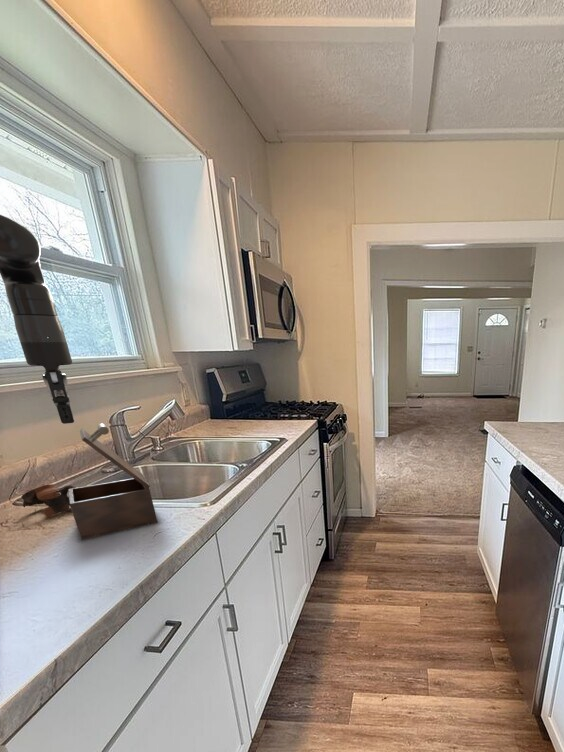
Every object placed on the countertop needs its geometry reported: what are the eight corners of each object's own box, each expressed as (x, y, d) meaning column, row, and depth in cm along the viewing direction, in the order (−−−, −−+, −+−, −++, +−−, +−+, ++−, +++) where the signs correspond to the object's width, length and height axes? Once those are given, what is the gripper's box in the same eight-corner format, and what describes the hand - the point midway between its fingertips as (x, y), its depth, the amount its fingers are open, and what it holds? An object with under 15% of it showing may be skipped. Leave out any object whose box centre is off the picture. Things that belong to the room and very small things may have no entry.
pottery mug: (34, 523, 101) (12, 495, 99) (41, 527, 109) (21, 501, 107) (85, 500, 107) (66, 473, 105) (89, 505, 115) (71, 480, 113)
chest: (81, 539, 91) (69, 503, 87) (79, 522, 100) (68, 488, 97) (157, 522, 99) (149, 489, 96) (149, 507, 109) (141, 476, 105)
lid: (81, 439, 85) (100, 423, 86) (79, 430, 95) (96, 416, 96) (147, 488, 96) (163, 473, 97) (139, 476, 105) (154, 462, 106)
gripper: (66, 340, 79) (90, 423, 85) (65, 340, 89) (86, 414, 95) (17, 340, 74) (45, 427, 81) (21, 340, 85) (46, 417, 91)
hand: (67, 420), depth 88 cm, fingers open, 8 cm apart
